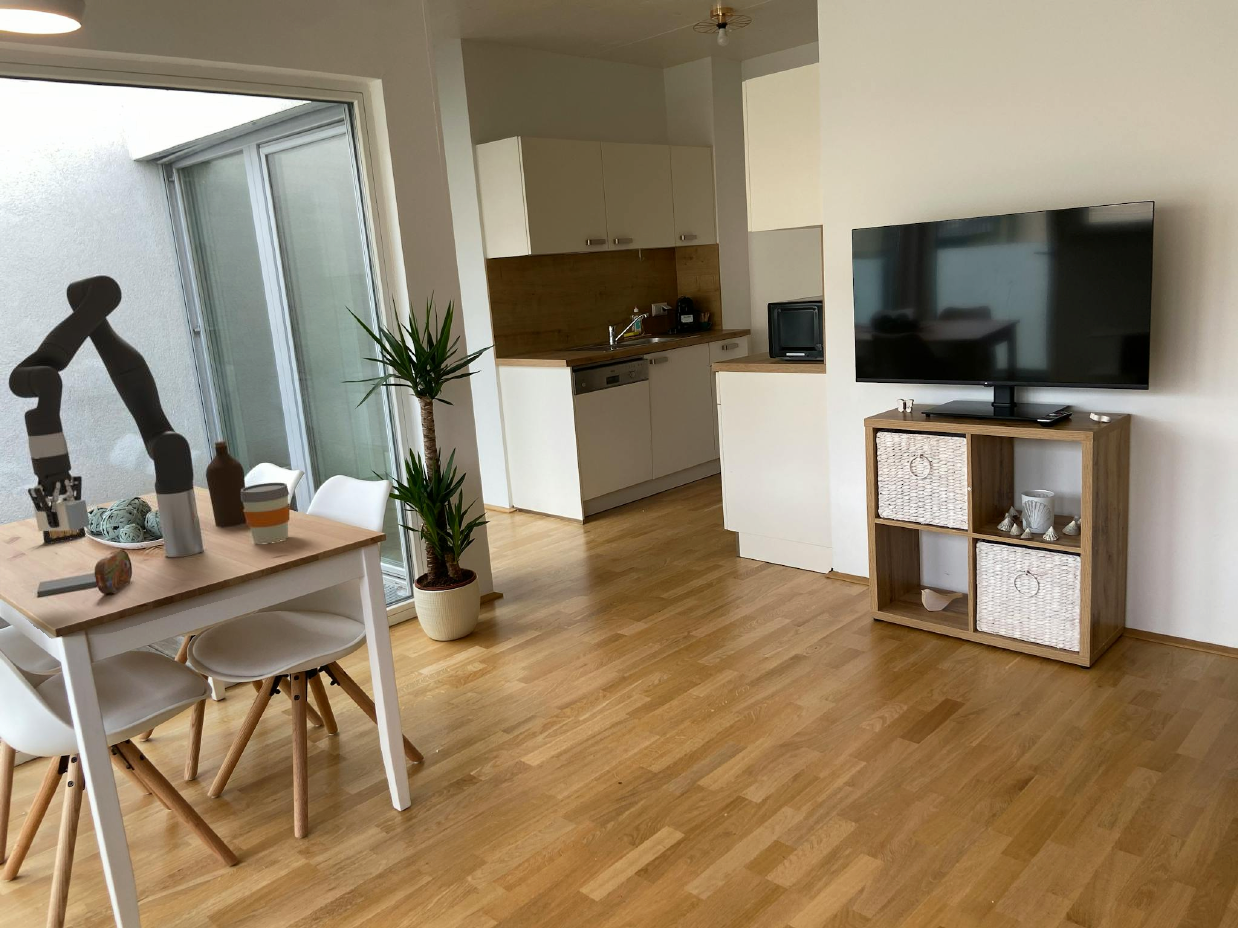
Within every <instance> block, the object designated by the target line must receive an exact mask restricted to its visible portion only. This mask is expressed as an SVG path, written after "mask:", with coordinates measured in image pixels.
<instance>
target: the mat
mask: <svg viewBox="0 0 1238 928" xmlns="http://www.w3.org/2000/svg"><path fill="white" fill-rule="evenodd" d="M93 587H98V586H97V582H96V578H95V572H92V573H85V574H81V575H79V574H78V575H74V576H69V577H63V578H57V579H52V580H45V581H40V582H39V584H38V587H37V590H36V594H37V597H38V598H39V597H45V596H50V595H53V594H54V595H55V594H60V593H66V592H71V591H77V590H82V589H83V590H84V589H88V588H93Z"/></svg>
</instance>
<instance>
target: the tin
mask: <svg viewBox="0 0 1238 928" xmlns="http://www.w3.org/2000/svg"><path fill="white" fill-rule="evenodd" d="M94 573H95V578H96V582H97V586H96V587H97V590H98V591H99V592H100V593H101V594H102V595H109V594H117V593H119V591H120V590H122V589H123V588H124V587H125V586H127V584H129V583H130V582H131V579H132V575H133V567H132V562H131V557H130V556H129V553H127V551H125V550H124V549H120V550H114V551H111V552H109V553H108V554H106V555H105V556H104V557H103V558H100V559H99V560H98V561H97V562H96V564H95V566H94Z"/></svg>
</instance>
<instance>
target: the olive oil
mask: <svg viewBox="0 0 1238 928" xmlns="http://www.w3.org/2000/svg"><path fill="white" fill-rule="evenodd" d="M214 445H215V446H214V450H215V456H214V457H213V458H212V460H211V461H210V463H209V464H208V465H207V466H206V471H205V479H206V483H207V488H208V493H209V497H210V501H211V502H210V503H211V507H212V512H213V518H214V519H213V520H214V523H215V525H216V527H231V526H238V525H241V523H242V524H244V523H247V521H246V518H245V514H244V509H245V508H244V505H243V502H242V501H241V489H243V488H245V487H246V482H245V481H246V480H245V470H244V467H243V465H242V464H241V462H239V460H238V459H236V458H235V457H233V456H232V455H231V454H229V452H228V445H227V441H226V440H218V441H214Z"/></svg>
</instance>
